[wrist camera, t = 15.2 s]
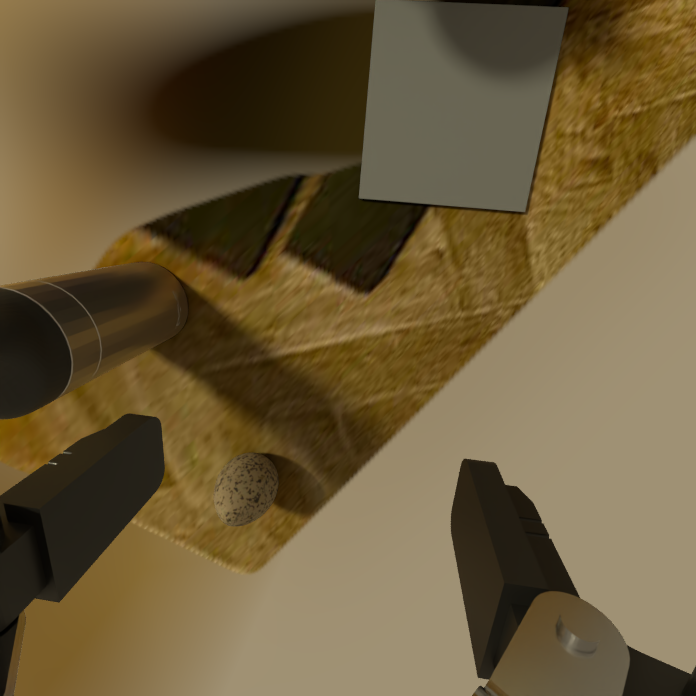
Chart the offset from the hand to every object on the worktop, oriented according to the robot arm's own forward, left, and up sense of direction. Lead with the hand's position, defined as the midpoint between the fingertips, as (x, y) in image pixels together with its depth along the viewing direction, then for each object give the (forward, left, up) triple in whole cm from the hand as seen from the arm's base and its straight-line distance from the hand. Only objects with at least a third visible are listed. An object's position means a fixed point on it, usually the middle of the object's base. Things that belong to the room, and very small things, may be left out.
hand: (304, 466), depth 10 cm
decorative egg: (-12, -25, -33) cm, 43 cm away
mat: (+6, +16, -33) cm, 37 cm away
